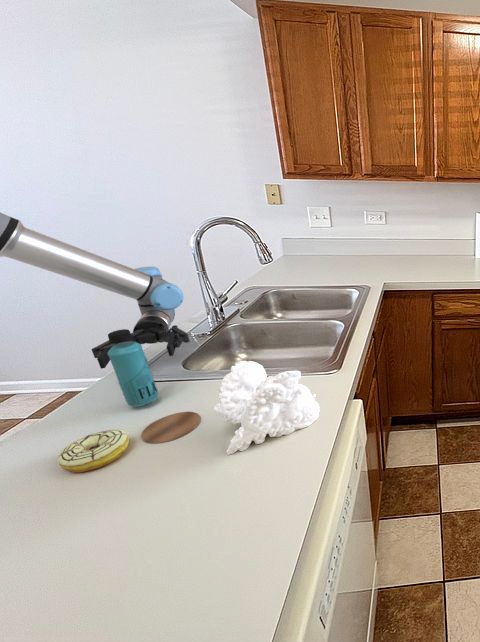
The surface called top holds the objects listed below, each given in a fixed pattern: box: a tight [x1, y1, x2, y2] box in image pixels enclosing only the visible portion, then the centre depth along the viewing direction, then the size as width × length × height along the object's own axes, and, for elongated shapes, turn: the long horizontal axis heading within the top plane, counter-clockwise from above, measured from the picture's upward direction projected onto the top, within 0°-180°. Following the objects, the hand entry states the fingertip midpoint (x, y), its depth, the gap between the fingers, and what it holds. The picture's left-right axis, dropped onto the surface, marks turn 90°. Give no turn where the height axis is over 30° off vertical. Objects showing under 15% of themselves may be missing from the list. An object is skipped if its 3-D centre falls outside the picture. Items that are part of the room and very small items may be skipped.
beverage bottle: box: [107, 328, 159, 408], centre depth 95 cm, size 6×7×20 cm
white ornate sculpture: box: [212, 360, 321, 456], centre depth 88 cm, size 19×20×20 cm
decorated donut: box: [56, 429, 130, 473], centre depth 81 cm, size 10×11×4 cm
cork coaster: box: [140, 411, 202, 445], centre depth 90 cm, size 11×11×1 cm
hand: (136, 357), depth 99 cm, fingers open, 13 cm apart
